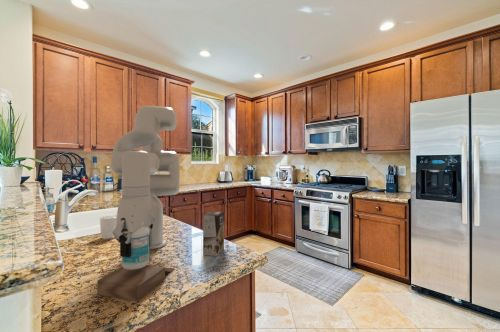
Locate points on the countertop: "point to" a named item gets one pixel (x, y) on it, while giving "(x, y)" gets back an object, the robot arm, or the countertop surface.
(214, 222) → the coffee box
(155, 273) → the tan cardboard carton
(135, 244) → the pill bottle
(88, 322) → the countertop surface
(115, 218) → the white cup
